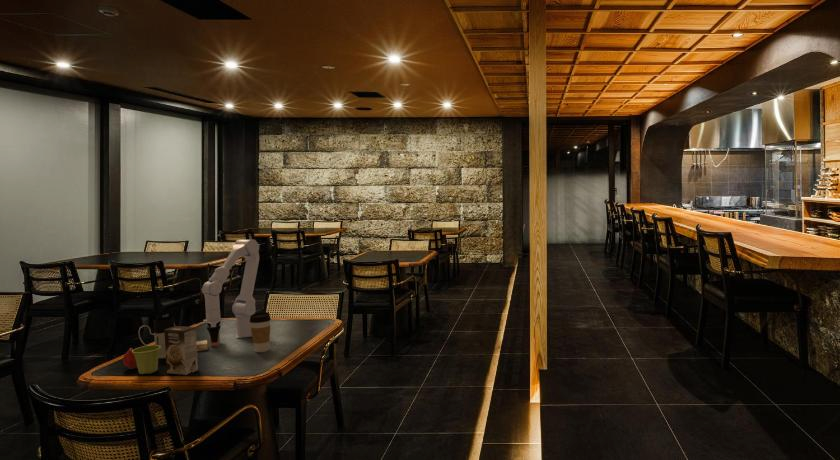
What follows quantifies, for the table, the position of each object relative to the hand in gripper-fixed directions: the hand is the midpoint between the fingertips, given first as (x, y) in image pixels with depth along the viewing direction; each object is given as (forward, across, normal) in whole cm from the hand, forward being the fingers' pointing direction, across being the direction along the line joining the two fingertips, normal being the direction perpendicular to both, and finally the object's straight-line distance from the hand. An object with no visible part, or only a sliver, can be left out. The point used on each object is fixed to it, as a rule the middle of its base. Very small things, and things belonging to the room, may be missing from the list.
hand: (214, 340), depth 232 cm
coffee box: (+2, +35, -11) cm, 37 cm away
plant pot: (+2, +29, -23) cm, 37 cm away
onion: (+2, +22, -29) cm, 36 cm away
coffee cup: (+2, +20, +18) cm, 27 cm away
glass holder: (+2, +9, -21) cm, 23 cm away
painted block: (+2, 0, 0) cm, 2 cm away
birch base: (+2, +5, -6) cm, 8 cm away
